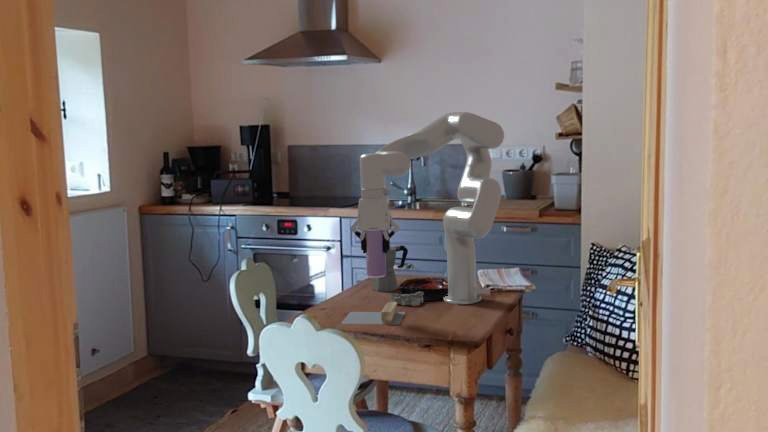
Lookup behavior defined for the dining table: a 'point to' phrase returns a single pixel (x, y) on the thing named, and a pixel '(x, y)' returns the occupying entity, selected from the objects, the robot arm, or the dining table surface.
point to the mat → (370, 318)
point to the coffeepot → (390, 270)
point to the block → (389, 312)
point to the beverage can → (375, 253)
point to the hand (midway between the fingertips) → (375, 251)
